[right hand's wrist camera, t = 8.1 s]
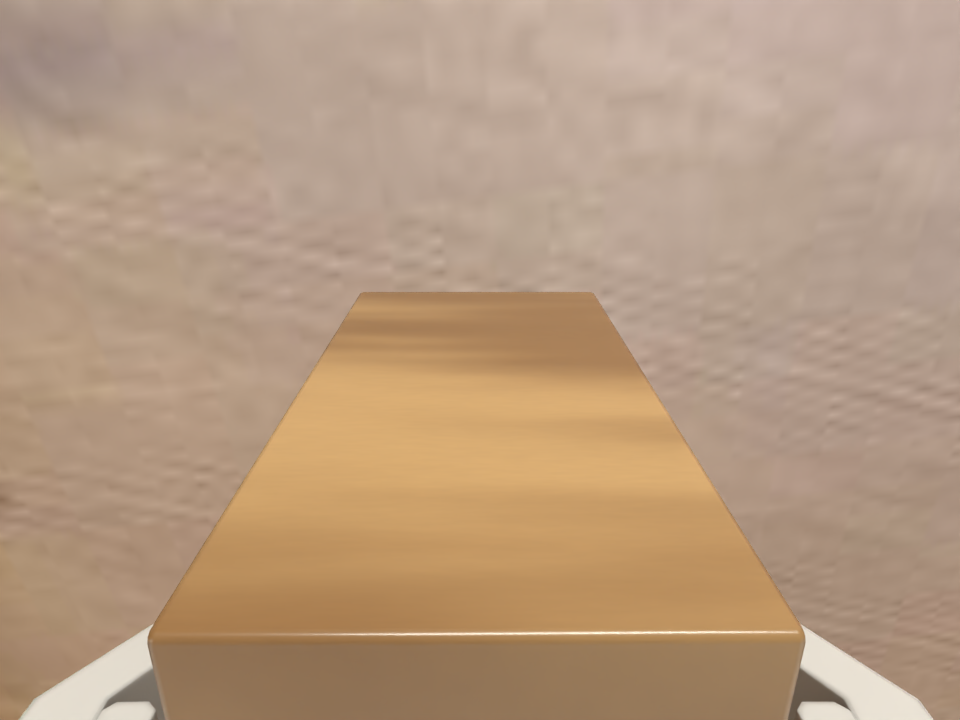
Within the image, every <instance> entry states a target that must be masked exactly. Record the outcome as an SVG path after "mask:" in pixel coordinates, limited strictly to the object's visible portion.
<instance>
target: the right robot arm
mask: <svg viewBox="0 0 960 720" xmlns="http://www.w3.org/2000/svg"><path fill="white" fill-rule="evenodd" d="M153 625H154V624H152V625H151V626H149V627H147V628H146V629H144V630H143V631H141V632H139V633H138V634H136V635H135V636H133V637H132V638H130V639H128V640H127V641H125V642H124V643H122V644H120V645H119V646H117V647H116V648H114V649H113V650H111V651H109V652H108V653H106V654H105V655H103V656H101V657H100V658H98V659H97V660H95V661H93V662H92V663H90V664H89V665H87V666H86V667H84V668H82V669H81V670H79V671H78V672H76V673H74V674H73V675H71V676H70V677H68V678H67V679H65V680H63V681H62V682H60V683H59V684H57V685H55V686H54V687H52V688H51V689H49V690H47V691H46V692H44V693H43V694H41V695H40V696H38V697H36V698H35V699H34V700H33V701H32V703H31V704H30V705H29V707H28V708H27V709H26V711H25V712H24V713H23V715H22V716H21V717H20V718H19V720H165V717H164V713H163V709H162V705H161V700H160V696H159V692H158V688H157V683H156V679H155V675H154V671H153V666H152V662H151V658H150V654H149V649H148V645H147V640H148V635H149V631H150V629H151V628H152V626H153ZM800 625H801V624H800ZM801 627H802V628H803V630H804V634H805V640H806V643H805V648H804V652H803V656H802V660H801V665H800V669H799V673H798V678H797V682H796V686H795V691H794V695H793V699H792V703H791V708H790V712H789V716H788V720H934V719H933V718H932V717H931V715H930V714H929V713H928V711H927V710H926V709H925V707H924V706H923V704H922V703H921V702H920V700H919V699H917V698H915V697H914V696H912V695H911V694H909V693H908V692H906V691H904V690H903V689H901V688H900V687H898V686H897V685H895V684H894V683H892V682H890V681H889V680H887V679H886V678H884V677H883V676H881V675H879V674H878V673H876V672H875V671H873V670H872V669H870V668H868V667H867V666H865V665H864V664H862V663H861V662H859V661H857V660H856V659H854V658H853V657H851V656H850V655H848V654H847V653H845V652H843V651H842V650H840V649H839V648H837V647H836V646H834V645H832V644H831V643H829V642H828V641H826V640H825V639H823V638H821V637H820V636H818V635H817V634H815V633H814V632H812V631H810V630H809V629H807V628H806V627H804V626H803V625H801Z"/></svg>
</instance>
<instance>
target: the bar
mask: <svg viewBox="0 0 960 720" xmlns="http://www.w3.org/2000/svg"><path fill="white" fill-rule="evenodd" d="M805 643H806V640H805V634H804V630H803V628H802V627H801V625H800V623H799V622H798V620H797V619H796V617H795V615H794V614H793V612H792V610H791V609H790V607H789V606H788V604H787V602H786V601H785V599H784V598H783V596H782V594H781V593H780V591H779V590H778V588H777V586H776V585H775V583H774V582H773V580H772V578H771V577H770V575H769V574H768V572H767V570H766V569H765V567H764V566H763V564H762V562H761V561H760V559H759V558H758V556H757V554H756V553H755V551H754V550H753V548H752V546H751V545H750V543H749V542H748V540H747V538H746V537H745V535H744V534H743V532H742V530H741V529H740V527H739V526H738V524H737V522H736V521H735V519H734V518H733V516H732V514H731V513H730V511H729V510H728V508H727V506H726V505H725V503H724V502H723V500H722V498H721V497H720V495H719V494H718V492H717V490H716V489H715V487H714V486H713V484H712V482H711V481H710V479H709V478H708V476H707V474H706V473H705V471H704V470H703V468H702V466H701V465H700V463H699V462H698V460H697V458H696V457H695V455H694V453H693V452H692V450H691V449H690V447H689V445H688V444H687V442H686V441H685V439H684V437H683V436H682V434H681V433H680V431H679V429H678V428H677V426H676V425H675V423H674V421H673V420H672V418H671V417H670V415H669V413H668V412H667V410H666V409H665V407H664V405H663V404H662V402H661V401H660V399H659V397H658V396H657V394H656V393H655V391H654V389H653V388H652V386H651V385H650V383H649V381H648V380H647V378H646V377H645V375H644V373H643V372H642V370H641V369H640V367H639V365H638V364H637V362H636V361H635V359H634V357H633V356H632V354H631V353H630V351H629V349H628V348H627V346H626V345H625V343H624V341H623V340H622V338H621V337H620V335H619V333H618V332H617V330H616V329H615V327H614V325H613V324H612V322H611V321H610V319H609V317H608V316H607V314H606V313H605V311H604V309H603V308H602V306H601V304H600V303H599V301H598V300H597V298H596V296H595V295H594V293H591V292H363V293H361V294H360V295H359V297H358V298H357V300H356V302H355V303H354V305H353V306H352V308H351V310H350V311H349V313H348V314H347V316H346V318H345V319H344V321H343V322H342V324H341V326H340V327H339V329H338V330H337V332H336V333H335V335H334V337H333V338H332V340H331V341H330V343H329V345H328V346H327V348H326V349H325V351H324V353H323V354H322V356H321V357H320V359H319V361H318V362H317V364H316V365H315V367H314V369H313V370H312V372H311V373H310V375H309V377H308V378H307V380H306V381H305V383H304V385H303V386H302V388H301V389H300V391H299V393H298V394H297V396H296V397H295V399H294V401H293V402H292V404H291V405H290V407H289V409H288V410H287V412H286V413H285V415H284V417H283V418H282V420H281V421H280V423H279V425H278V426H277V428H276V429H275V431H274V433H273V434H272V436H271V437H270V439H269V441H268V442H267V444H266V445H265V447H264V449H263V450H262V452H261V453H260V455H259V457H258V458H257V460H256V461H255V463H254V465H253V466H252V468H251V469H250V471H249V473H248V474H247V476H246V477H245V479H244V481H243V482H242V484H241V485H240V487H239V489H238V490H237V492H236V493H235V495H234V497H233V498H232V500H231V501H230V503H229V505H228V506H227V508H226V509H225V511H224V513H223V514H222V516H221V517H220V519H219V521H218V522H217V524H216V525H215V527H214V529H213V530H212V532H211V533H210V535H209V537H208V538H207V540H206V541H205V543H204V545H203V546H202V548H201V549H200V551H199V553H198V554H197V556H196V557H195V559H194V561H193V562H192V564H191V565H190V567H189V569H188V570H187V572H186V573H185V575H184V577H183V578H182V580H181V581H180V583H179V585H178V586H177V588H176V589H175V591H174V593H173V594H172V596H171V597H170V599H169V601H168V602H167V604H166V605H165V607H164V609H163V610H162V612H161V613H160V615H159V617H158V618H157V620H156V621H155V623H154V625H153V626H152V628H151V629H150V631H149V635H148V640H147V645H148V649H149V654H150V658H151V662H152V666H153V671H154V675H155V679H156V683H157V688H158V692H159V696H160V700H161V705H162V709H163V713H164V717H165V720H788V716H789V712H790V708H791V703H792V699H793V695H794V691H795V686H796V682H797V678H798V673H799V669H800V665H801V660H802V656H803V652H804V648H805Z"/></svg>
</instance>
